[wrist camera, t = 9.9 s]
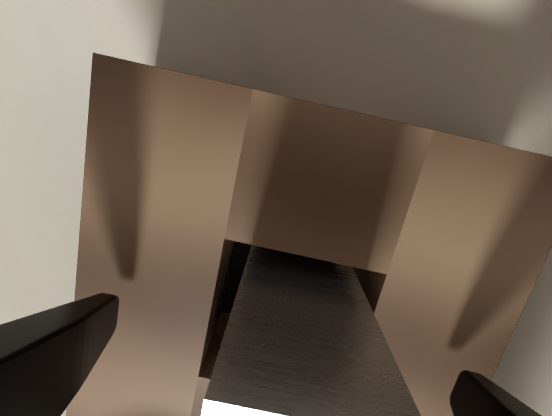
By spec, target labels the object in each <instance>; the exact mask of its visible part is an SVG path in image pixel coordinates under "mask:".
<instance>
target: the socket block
mask: <svg viewBox="0 0 552 416" xmlns="http://www.w3.org/2000/svg"><path fill="white" fill-rule="evenodd" d="M235 241H237V242H242V243H246V244H251V245H255V246H260V247H264V248H269V249H274V250H278V251H283V252H287V253H292V254H296V255H301V256H306V257H310V258H315V259H319V260H324V261H328V262H333V263H338V264H342V265H347V266H351V267H353V269H354V272H355V274H356V276H357V278H358V280H359V283H360V285H361V287H362V289H363V291H364V293H365V296H366V298H367V300H368V302H369V304H370V306H371V309H372V311H373V313H374V315H375V317H376V319H377V322H378V324H379V326H380V328H381V330H382V332H383V335H384V337H385V339H386V341H387V343H388V345H389V348H390V350H391V352H392V354H393V356H394V358H395V361H396V363H397V365H398V367H399V369H400V371H401V374H402V376H403V378H404V380H405V382H406V384H407V387H408V389H409V391H410V393H411V395H412V397H413V400H414V402H415V404H416V406H417V408H418V411H419V413H420V415H421V416H453V412H452V409H451V406H450V395H451V392H452V390H453V387H454V385H455V382H456V380H457V378H458V375H459V373H460V372H461V371H463V370H468V371H472V372H477V373H480V374H482V375H483V376H485V377H486V378H488V379H489V380H490V381H491V379H492V377H493V374H494V372H495V370H496V368H497V366H498V363H499V361H500V359H501V357H502V355H503V352H504V350H505V348H506V346H507V344H508V341H509V339H510V337H511V335H512V332H513V330H514V328H515V326H516V324H517V321H518V319H519V317H520V315H521V313H522V310H523V308H524V306H525V304H526V302H527V299H528V297H529V295H530V293H531V291H532V288H533V286H534V284H535V282H536V279H537V277H538V275H539V273H540V271H541V268H542V266H543V264H544V262H545V260H546V257H547V255H548V253H549V251H550V249H551V246H552V157H550V156H546V155H541V154H537V153H532V152H528V151H524V150H519V149H515V148H510V147H506V146H502V145H497V144H493V143H488V142H484V141H480V140H475V139H471V138H466V137H462V136H458V135H453V134H449V133H444V132H440V131H436V130H431V129H427V128H422V127H418V126H414V125H409V124H405V123H400V122H396V121H391V120H387V119H383V118H378V117H374V116H369V115H365V114H361V113H356V112H352V111H347V110H343V109H339V108H334V107H330V106H325V105H321V104H317V103H312V102H308V101H303V100H299V99H295V98H290V97H286V96H281V95H277V94H273V93H268V92H264V91H259V90H255V89H251V88H246V87H242V86H237V85H233V84H229V83H224V82H220V81H215V80H211V79H206V78H202V77H198V76H193V75H189V74H184V73H180V72H176V71H171V70H167V69H162V68H158V67H154V66H149V65H145V64H140V63H136V62H132V61H127V60H123V59H118V58H114V57H110V56H105V55H101V54H96V53H93V59H92V72H91V86H90V99H89V113H88V126H87V140H86V153H85V167H84V180H83V194H82V207H81V220H80V234H79V247H78V261H77V274H76V288H75V301H77V300H80V299H83V298H87V297H90V296H93V295H96V294H99V293H108V294H112V295H116V296H118V297H119V309H118V318H117V326H116V329H115V331H114V334H113V335H112V337H111V339H110V340H109V342H108V344H107V345H106V347H105V349H104V350H103V352H102V354H101V355H100V357H99V359H98V360H97V362H96V364H95V365H94V367H93V369H92V370H91V372H90V374H89V375H88V377H87V379H86V380H85V382H84V384H83V385H82V387H81V388H80V390H79V391H78V393H77V394H76V395H75V397H74V398H73V400H72V401H71V402H70V404H69V405H68V406H67V409H66V416H201V414H202V408H203V403H204V398H205V395H206V392H207V388H208V385H209V382H210V379H211V375H212V372H213V369H214V366H215V362H216V359H217V356H218V353H219V349H220V346H221V343H222V340H223V336H224V333H225V330H226V327H227V323H228V320H229V317H230V314H229V313H225V312H222V307H223V302H224V297H225V292H226V287H227V282H228V277H229V272H230V267H231V262H232V257H233V252H234V246H235Z"/></svg>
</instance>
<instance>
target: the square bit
mask: <svg viewBox="0 0 552 416" xmlns="http://www.w3.org/2000/svg"><path fill="white" fill-rule="evenodd" d="M201 416H421V415H420V413H419V411H418V408H417V406H416V404H415V402H414V400H413V397H412V395H411V393H410V391H409V389H408V387H407V384H406V382H405V380H404V378H403V376H402V374H401V371H400V369H399V367H398V365H397V363H396V361H395V358H394V356H393V354H392V352H391V350H390V348H389V345H388V343H387V341H386V339H385V337H384V335H383V332H382V330H381V328H380V326H379V324H378V322H377V319H376V317H375V315H374V313H373V311H372V309H371V306H370V304H369V302H368V300H367V298H366V296H365V293H364V291H363V289H362V287H361V285H360V283H359V280H358V278H357V276H356V274H355V272H354V269H353V267H351V266H347V265H342V264H338V263H333V262H328V261H324V260H319V259H315V258H310V257H306V256H301V255H296V254H292V253H287V252H283V251H278V250H274V249H269V248H264V247H260V246H255V245H251V249H250V252H249V255H248V258H247V262H246V265H245V268H244V271H243V275H242V278H241V281H240V284H239V288H238V291H237V294H236V297H235V301H234V304H233V307H232V310H231V314H230V317H229V320H228V323H227V327H226V330H225V333H224V336H223V340H222V343H221V346H220V349H219V353H218V356H217V359H216V362H215V366H214V369H213V372H212V375H211V379H210V382H209V385H208V388H207V392H206V395H205V398H204V403H203V408H202V414H201Z"/></svg>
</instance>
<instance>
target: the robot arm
mask: <svg viewBox="0 0 552 416" xmlns="http://www.w3.org/2000/svg"><path fill="white" fill-rule="evenodd" d="M118 309H119V297H118V296H116V295H112V294H108V293H99V294H96V295H93V296H90V297H87V298H83V299H80V300H77V301H74V302H71V303H68V304H64V305H61V306H58V307H55V308H52V309H49V310H45V311H42V312H39V313H36V314H33V315H30V316H26V317H23V318H20V319H17V320H14V321H11V322H7V323H4V324H1V325H0V416H61V414H62V413H63V412H64V410H65V409H66V408H67V406H68V405H69V404H70V402H71V401H72V400H73V398H74V397H75V395H76V394H77V393H78V391H79V390H80V388H81V387H82V385H83V384H84V382H85V380H86V379H87V377H88V375H89V374H90V372H91V370H92V369H93V367H94V365H95V364H96V362H97V360H98V359H99V357H100V355H101V354H102V352H103V350H104V349H105V347H106V345H107V344H108V342H109V340H110V339H111V337H112V335H113V334H114V331H115V329H116V326H117V318H118ZM450 406H451V409H452V412H453V416H541V415H540V414H538V413H537V412H535V411H534V410H532V409H531V408H530V407H528V406H527V405H525V404H524V403H522V402H521V401H519V400H518V399H517V398H515V397H514V396H512V395H511V394H509V393H508V392H506V391H505V390H503V389H502V388H501V387H499V386H498V385H496V384H495V383H493V382H492V381H490V380H489V379H488V378H486V377H485V376H483V375H482V374H480V373H477V372H472V371H468V370H463V371H461V372H460V373H459V375H458V378H457V380H456V382H455V385H454V387H453V390H452V392H451V395H450Z"/></svg>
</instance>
